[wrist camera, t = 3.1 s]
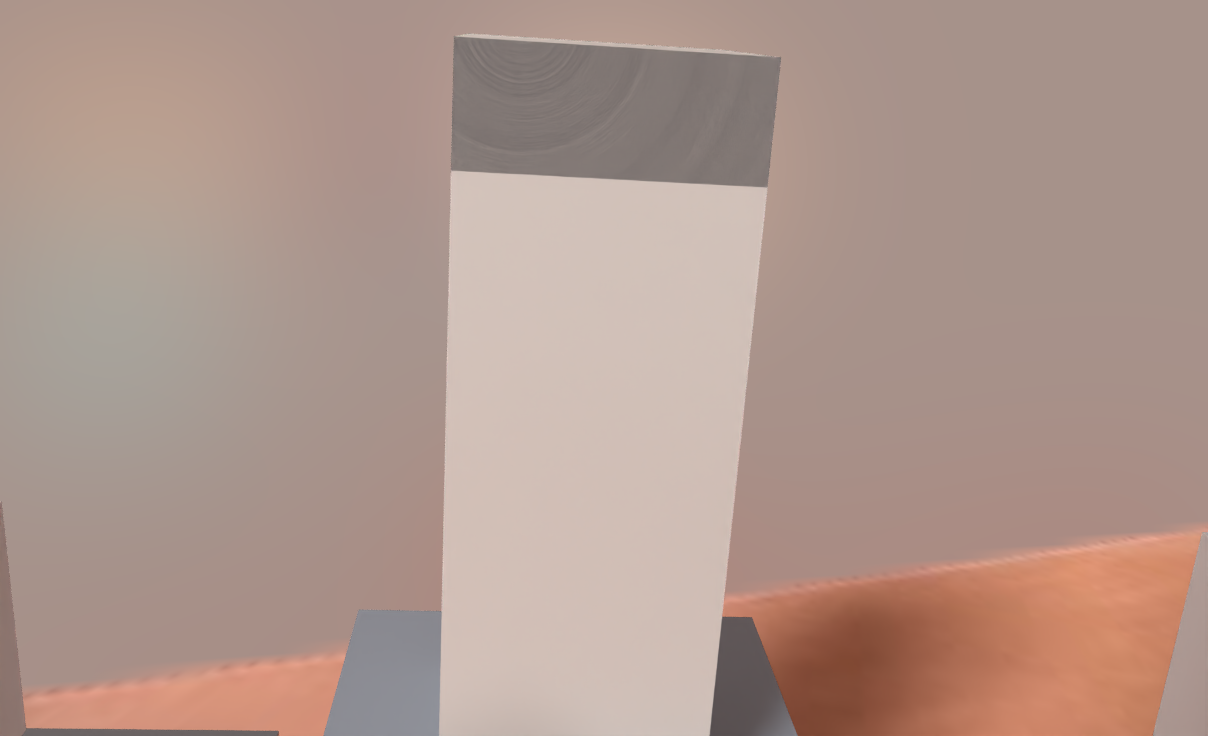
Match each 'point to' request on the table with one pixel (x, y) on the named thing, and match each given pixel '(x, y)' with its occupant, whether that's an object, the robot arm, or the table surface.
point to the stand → (412, 680)
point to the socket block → (142, 732)
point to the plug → (595, 378)
